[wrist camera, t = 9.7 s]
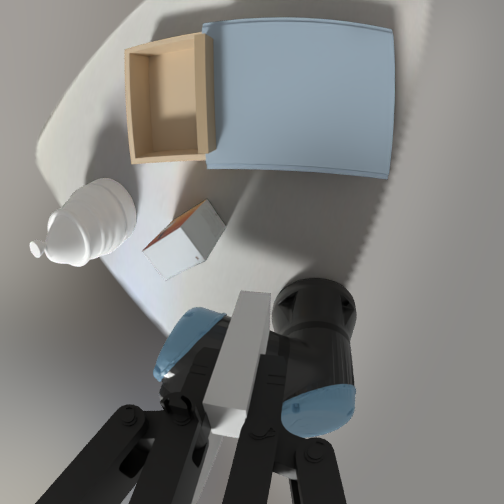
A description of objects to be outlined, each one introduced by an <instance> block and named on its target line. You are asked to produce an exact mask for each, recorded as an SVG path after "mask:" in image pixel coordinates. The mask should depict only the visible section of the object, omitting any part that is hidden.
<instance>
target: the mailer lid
mask: <svg viewBox="0 0 504 504" xmlns="http://www.w3.org/2000/svg"><path fill="white" fill-rule="evenodd" d="M194 54H195V98H196V122H197V142H198V154H206V164H207V169H262V170H287V171H305V172H320V173H332V174H344V175H354V176H363V177H372V178H380V179H388V174H389V170H390V161H391V151H392V139H393V125H394V102H395V59H394V38H393V34H392V29H388V28H383V27H378V26H373V25H367V24H361V23H354V22H347V21H338V20H329V19H316V18H291V17H274V18H249V19H236V20H226V21H218V22H210V23H203V28H202V34H197V35H194Z"/></svg>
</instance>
